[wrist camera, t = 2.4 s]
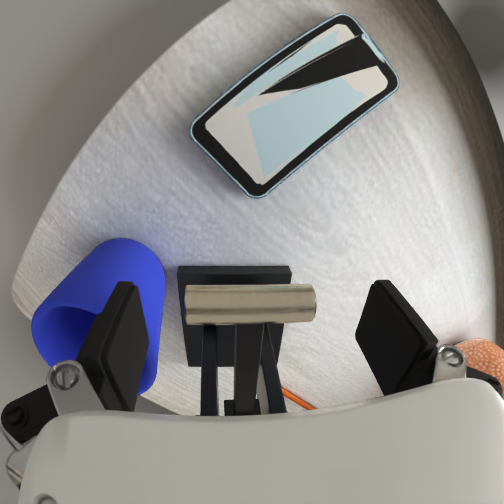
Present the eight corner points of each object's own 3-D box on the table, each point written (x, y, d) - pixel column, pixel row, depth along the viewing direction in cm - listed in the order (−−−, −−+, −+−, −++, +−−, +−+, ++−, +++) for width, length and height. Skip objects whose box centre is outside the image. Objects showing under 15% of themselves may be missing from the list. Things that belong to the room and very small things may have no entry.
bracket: (178, 266, 22) (151, 402, 11) (288, 265, 23) (341, 393, 12) (189, 358, 27) (183, 472, 16) (275, 356, 28) (300, 466, 17)
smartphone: (182, 129, 17) (345, 8, 13) (184, 129, 18) (340, 11, 14) (256, 205, 20) (404, 85, 16) (254, 201, 21) (397, 86, 17)
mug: (61, 299, 23) (17, 373, 14) (113, 204, 19) (48, 271, 10) (127, 343, 26) (105, 425, 17) (195, 266, 22) (184, 360, 14)
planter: (492, 296, 30) (563, 376, 13) (478, 363, 39) (521, 426, 22) (385, 371, 33) (440, 484, 16) (396, 417, 42) (429, 493, 25)
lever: (187, 272, 11) (181, 308, 9) (306, 271, 12) (323, 305, 10) (204, 419, 17) (205, 448, 15) (275, 417, 17) (280, 444, 15)
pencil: (321, 416, 36) (322, 419, 35) (246, 368, 29) (246, 373, 28) (326, 413, 36) (327, 417, 35) (252, 365, 28) (252, 370, 28)
